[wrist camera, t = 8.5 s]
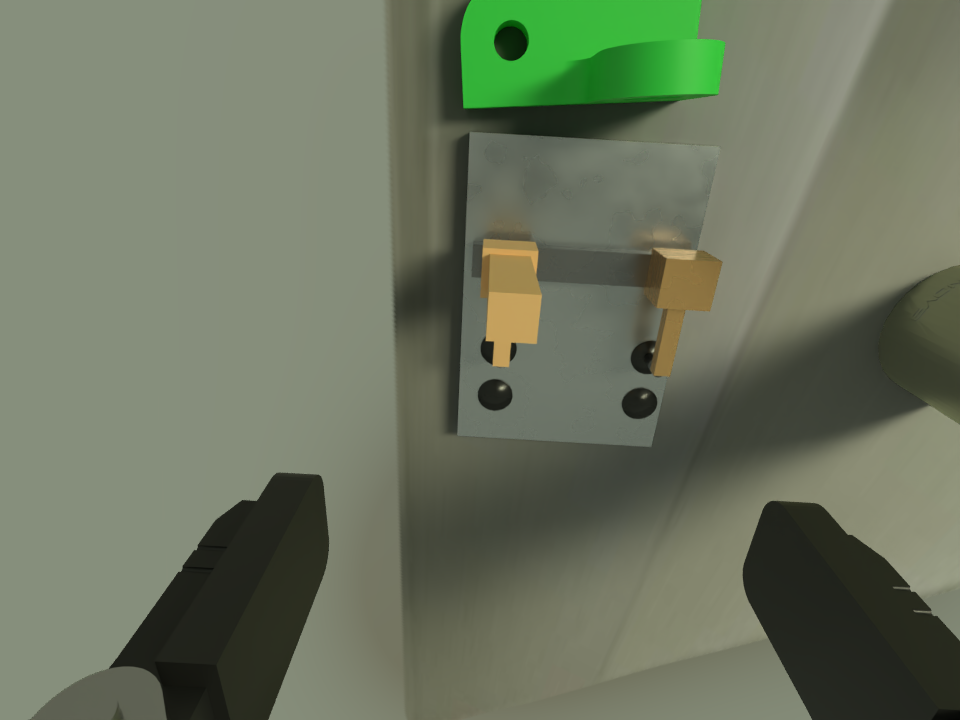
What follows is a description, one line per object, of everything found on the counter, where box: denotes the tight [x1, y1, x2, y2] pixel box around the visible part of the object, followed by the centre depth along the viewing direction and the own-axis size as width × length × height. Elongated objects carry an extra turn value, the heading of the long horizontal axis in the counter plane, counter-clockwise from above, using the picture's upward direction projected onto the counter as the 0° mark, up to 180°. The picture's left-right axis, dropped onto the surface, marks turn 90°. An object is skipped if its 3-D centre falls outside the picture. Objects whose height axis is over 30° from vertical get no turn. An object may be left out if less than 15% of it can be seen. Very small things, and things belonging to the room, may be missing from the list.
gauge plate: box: [457, 132, 722, 447], centre depth 31 cm, size 14×20×5 cm
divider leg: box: [480, 239, 542, 368], centre depth 27 cm, size 3×8×10 cm, turn 177°
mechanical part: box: [461, 0, 725, 109], centre depth 24 cm, size 12×6×8 cm, turn 92°
